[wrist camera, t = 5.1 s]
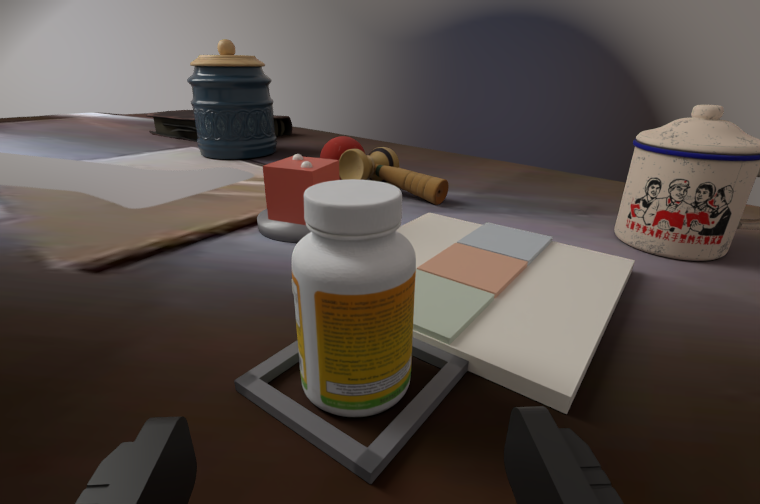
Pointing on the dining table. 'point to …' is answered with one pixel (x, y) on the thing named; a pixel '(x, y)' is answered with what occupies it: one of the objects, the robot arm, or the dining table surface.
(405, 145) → the dining table surface
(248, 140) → the canister
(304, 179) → the red die
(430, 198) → the kendama
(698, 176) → the teacup with lid
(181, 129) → the diary
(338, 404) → the supplement bottle
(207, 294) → the dining table surface
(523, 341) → the game board
